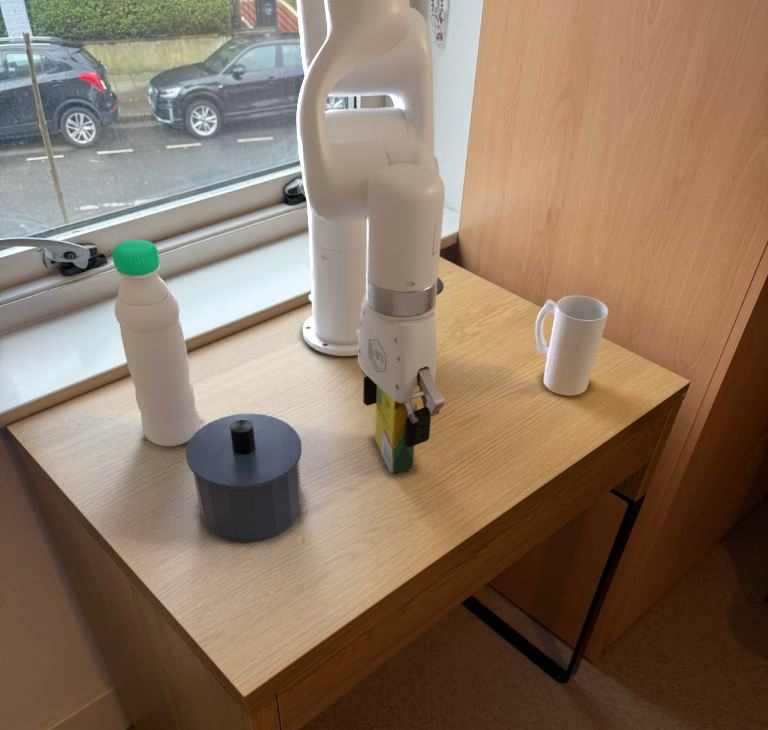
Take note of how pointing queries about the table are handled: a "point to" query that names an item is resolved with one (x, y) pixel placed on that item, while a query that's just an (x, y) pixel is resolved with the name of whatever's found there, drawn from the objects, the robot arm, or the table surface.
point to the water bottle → (154, 346)
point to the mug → (571, 342)
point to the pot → (251, 508)
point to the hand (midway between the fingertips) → (395, 421)
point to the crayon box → (392, 433)
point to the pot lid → (243, 451)
